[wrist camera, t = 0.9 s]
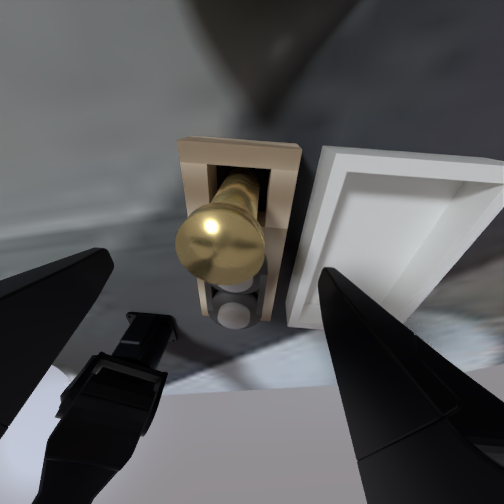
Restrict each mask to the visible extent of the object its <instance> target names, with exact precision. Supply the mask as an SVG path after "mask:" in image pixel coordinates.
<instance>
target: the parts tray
mask: <svg viewBox="0 0 504 504" xmlns="http://www.w3.org/2000/svg"><path fill="white" fill-rule="evenodd" d="M503 207H504V161H499V160H494V159H489V158H484V157H470V156H457V155H444V154H430V153H417V152H403V151H390V150H376V149H363V148H350V147H336V146H323V147H322V151H321V155H320V159H319V163H318V168H317V172H316V176H315V180H314V184H313V189H312V193H311V197H310V201H309V205H308V209H307V214H306V218H305V222H304V226H303V230H302V235H301V239H300V243H299V247H298V251H297V255H296V260H295V264H294V268H293V272H292V276H291V280H290V285H289V289H288V293H287V297H286V301H285V305H286V316H287V326H288V327H297V328H309V329H320V330H324V327H323V322H322V317H321V310H320V302H319V294H318V280H319V277H320V274H321V271H322V269H323V268H324V267H333V268H335V269H337V270H338V271H339V272H340V273H341V274H343V275H344V276H345V277H346V278H348V279H349V280H350V281H351V282H352V283H354V284H355V285H356V286H357V287H359V288H360V289H361V290H362V291H363V292H365V293H366V294H367V295H368V296H369V297H371V298H372V299H373V300H374V301H376V302H377V303H378V304H379V305H380V306H382V307H383V308H384V309H385V310H386V311H388V312H389V313H390V314H391V315H393V316H394V317H395V318H396V319H397V320H399V321H400V322H401V323H402V324H404V322H405V321H406V320H407V319H408V318H409V317H410V316H411V314H412V313H413V312H414V311H415V310H416V309H417V307H418V306H419V305H420V304H421V303H422V302H423V300H424V299H425V298H426V297H427V296H428V295H429V293H430V292H431V291H432V290H433V289H434V288H435V286H436V285H437V284H438V283H439V282H440V281H441V279H442V278H443V277H444V276H445V275H446V274H447V272H448V271H449V270H450V269H451V268H452V267H453V265H454V264H455V263H456V262H457V261H458V260H459V258H460V257H461V256H462V255H463V254H464V253H465V251H466V250H467V249H468V248H469V247H470V246H471V244H472V243H473V242H474V241H475V240H476V239H477V237H478V236H479V235H480V234H481V233H482V232H483V230H484V229H485V228H486V227H487V226H488V225H489V223H490V222H491V221H492V220H493V219H494V218H495V216H496V215H497V214H498V213H499V212H500V211H501V209H502V208H503Z"/></svg>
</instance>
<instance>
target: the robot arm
mask: <svg viewBox="0 0 504 504" xmlns="http://www.w3.org/2000/svg"><path fill="white" fill-rule="evenodd" d="M113 269H114V263H113V260H112V258H111V256H110V254H109V252H108V250H107V249H105V248H92V249H89V250H86V251H83V252H80V253H77V254H74V255H72V256H69V257H66V258H63V259H60V260H57V261H55V262H52V263H49V264H46V265H43V266H40V267H37V268H35V269H32V270H29V271H26V272H23V273H20V274H17V275H15V276H12V277H9V278H6V279H3V280H0V439H1V437H2V436H3V435H4V433H5V432H6V430H7V429H8V426H9V425H10V424H11V423H12V421H13V420H14V418H15V417H16V415H17V414H18V412H19V411H20V410H21V408H22V407H23V405H24V404H25V402H26V401H27V399H28V398H29V397H30V395H31V394H32V392H33V391H34V389H35V388H36V387H37V385H38V384H39V382H40V381H41V379H42V378H43V376H44V375H45V374H46V372H47V371H48V369H49V368H50V366H51V365H52V363H53V362H54V361H55V359H56V358H57V356H58V355H59V353H60V352H61V350H62V349H63V348H64V346H65V345H66V343H67V342H68V340H69V339H70V337H71V336H72V335H73V333H74V332H75V330H76V329H77V327H78V326H79V324H80V323H81V322H82V320H83V319H84V317H85V316H86V314H87V313H88V311H89V310H90V309H91V307H92V306H93V304H94V303H95V301H96V300H97V298H98V296H99V294H100V293H101V291H102V289H103V287H104V285H105V284H106V282H107V280H108V278H109V276H110V275H111V273H112V271H113ZM318 294H319V302H320V310H321V317H322V322H323V327H324V331H325V335H326V339H327V343H328V347H329V351H330V355H331V359H332V363H333V367H334V371H335V375H336V379H337V383H338V386H339V391H340V395H341V399H342V403H343V407H344V411H345V415H346V419H347V423H348V427H349V431H350V435H351V439H352V443H353V447H354V451H355V455H356V459H357V460H358V462H357V463H358V468H359V472H360V476H361V480H362V484H363V488H364V492H365V496H366V500H367V504H504V402H503V401H501V400H500V399H498V398H497V397H496V396H495V395H493V394H492V393H490V392H489V391H488V390H487V389H485V388H484V387H482V386H481V385H480V384H478V383H477V382H476V381H474V380H473V379H472V378H470V377H469V376H468V375H466V374H465V373H464V372H462V371H461V370H460V369H458V368H457V367H456V366H454V365H453V364H452V363H451V362H449V361H448V360H447V359H445V358H444V357H443V356H442V355H440V354H439V353H438V352H437V351H435V350H434V349H433V348H432V347H430V346H429V345H428V344H427V343H425V342H424V341H423V340H422V339H421V338H419V337H418V336H417V335H414V333H413V332H412V331H411V330H410V329H408V328H407V327H406V326H405V325H403V324H402V323H401V322H400V321H399V320H397V319H396V318H395V317H394V316H393V315H391V314H390V313H389V312H388V311H386V310H385V309H384V308H383V307H382V306H380V305H379V304H378V303H377V302H376V301H374V300H373V299H372V298H371V297H369V296H368V295H367V294H366V293H365V292H363V291H362V290H361V289H360V288H359V287H357V286H356V285H355V284H354V283H352V282H351V281H350V280H349V279H348V278H346V277H345V276H344V275H343V274H341V273H340V272H339V271H338V270H337V269H335V268H333V267H324V268H323V269H322V271H321V274H320V277H319V280H318ZM126 317H127V319H128V321H129V323H130V326H129V327H128V329H127V330H126V332H125V334H124V335H123V337H122V338H121V340H120V343H119V344H118V346H117V347H116V349H115V350H114V352H113V354H112V355H108V354H105V353H104V352H100V353H99V354H98V355H92V357H91V358H90V360H89V361H88V362H87V364H86V365H85V367H84V368H83V369H82V370H81V372H80V373H79V374H78V375H77V376H76V377H75V379H74V380H73V381H72V382H71V383H70V384H69V386H68V387H67V388H66V389H65V390H64V392H63V393H62V394H61V396H60V397H61V405H60V406H59V408H60V409H59V410H58V412H57V414H56V416H55V417H56V418H60V419H61V420H60V421H59V423H58V424H57V426H56V427H55V429H54V431H53V432H52V434H51V435H50V437H49V439H48V441H47V445H46V451H45V457H44V463H43V468H42V475H41V480H40V486H39V491H38V494H37V496H36V497H35V499H34V501H33V502H32V504H91V503H92V501H93V499H94V498H95V497H96V496H97V494H98V493H99V492H100V491H101V490H102V489H103V488H104V487H105V486H106V484H107V483H108V482H109V481H110V480H111V479H112V478H113V477H114V475H115V474H116V473H117V472H118V471H120V470H121V469H122V468H123V466H124V465H125V464H126V463H127V461H128V460H129V459H130V458H131V456H132V454H133V452H134V450H135V448H136V445H137V443H138V440H139V438H140V436H144V435H145V434H146V433H147V431H148V429H149V427H150V425H151V422H152V421H153V418H154V416H155V413H156V411H157V408H158V405H159V401H160V398H161V395H162V391H163V388H164V385H165V382H166V378H167V375H168V373H167V372H161V371H158V370H156V369H157V366H158V364H159V362H160V360H161V357H162V355H163V353H164V350H165V348H166V346H167V343H168V342H174V343H175V342H177V340H178V338H177V335H176V331H175V328H174V324H173V321H172V318H171V317H170V316H167V315H156V314H145V313H134V312H128V313H127V314H126ZM96 372H98V374H95V373H96Z"/></svg>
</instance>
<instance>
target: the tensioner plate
mask: <svg viewBox="0 0 504 504" xmlns="http://www.w3.org/2000/svg"><path fill="white" fill-rule="evenodd" d="M177 144H178V151H179V158H180V164H181V171H182V178H183V185H184V192H185V199H186V206H187V213H188V216H189V215H190V214H191V213H192V212H193V211H194V210H196V209H197V208H199V207H200V206H203V205H205V204H209V203H211V201H212V200H213V198H214V196H215V195H216V193H217V192H218V191H217V169H216V165H224V166H238V167H251V168H264V169H270V172H269V181H268V191H267V200H266V210H265V212H263V211H257V221H258V223H259V224H260V226H261V228H262V230H263V233H264V238H265V255H264V262H263V264H262V267H261V268H260V270H259V271H258V273H257V274H256V275H255V276H254V277H252V278H251V279H249V280H247V281H245V282H243V283H240V284H236V285H216V284H212V283H208V282H206V281H203V280H201V279H199V278H197V282H198V289H199V296H200V303H201V309H202V315H205V316H210V317H211V319H212V320H213V321H215V322H216V323H218V324H219V325H221V326H224V327H227V328H230V329H244V328H249V327H251V326H254V325H255V324H257V323H258V322H259V321H260V320H261V321H270V319H271V314H272V309H273V303H274V298H275V293H276V287H277V282H278V277H279V271H280V266H281V260H282V255H283V250H284V244H285V239H286V234H287V228H288V223H289V218H290V212H291V207H292V202H293V196H294V191H295V186H296V180H297V175H298V170H299V164H300V159H301V153H302V149H301V148H300V147H299V146H298V145H297V144H296V143H282V142H269V141H256V140H242V139H229V138H215V137H202V136H189V137H186V138H182V139H179V140H177Z"/></svg>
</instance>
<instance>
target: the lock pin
mask: <svg viewBox="0 0 504 504" xmlns="http://www.w3.org/2000/svg"><path fill="white" fill-rule="evenodd" d="M259 189H260V183H259V179H258V177H257V175H256V174H255V173H254V172H253V171H251V170H250V169H248V168H236V169H234V170H232V171H231V172H230V173H229V174H228V176H227V177H226V179H225V180H224V182H223V184H222V185H221V187H220V188H219V190H218V192H217V193H216V195H215V196H214V198H213V200H212V201H211V203H209V204H205V205H203V206H200V207H199V208H197V209H196V210H194V211H193V212H192V213H191V214H190V215H189V216H188V218H187V219H186V220H185V222H184V223H183V224H182V226H181V227H180V229H179V230H178V233H177V235H176V240H175V247H176V252H177V255H178V258H179V260H180V261H181V263H182V264H183V266H184V267H185V268H186V269H187V270H188V271H189V272H190V273H191V274H193V275H194V276H196V277H197V278H199V279H201V280H203V281H206V282H208V283H212V284H216V285H236V284H240V283H243V282H245V281H247V280H249V279H251V278H252V277H254V276H255V275H256V274H257V273H258V271H259V270H260V268H261V267H262V264H263V262H264V255H265V238H264V233H263V230H262V228H261V226H260V224H259V223H258V221H257V211H258V200H259Z"/></svg>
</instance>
